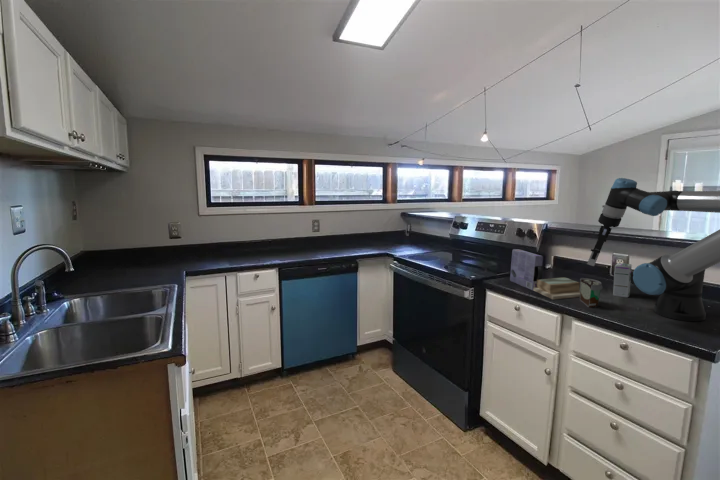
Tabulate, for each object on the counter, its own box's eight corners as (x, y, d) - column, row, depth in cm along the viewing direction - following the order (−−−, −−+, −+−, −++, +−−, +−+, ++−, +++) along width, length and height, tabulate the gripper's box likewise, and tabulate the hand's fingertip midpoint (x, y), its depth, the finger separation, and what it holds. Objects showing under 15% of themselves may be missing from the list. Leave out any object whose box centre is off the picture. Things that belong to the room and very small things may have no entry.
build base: (588, 296, 163) (589, 284, 162) (552, 299, 160) (553, 287, 159) (561, 285, 180) (561, 274, 180) (528, 288, 178) (529, 277, 177)
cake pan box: (542, 290, 174) (544, 255, 171) (534, 291, 173) (535, 256, 170) (517, 280, 193) (518, 248, 190) (509, 281, 192) (510, 249, 189)
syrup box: (628, 297, 159) (631, 266, 157) (612, 295, 163) (614, 264, 161) (629, 294, 163) (632, 264, 161) (614, 292, 167) (616, 262, 165)
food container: (606, 309, 147) (608, 285, 145) (590, 308, 148) (591, 285, 146) (593, 299, 159) (595, 277, 157) (578, 299, 160) (580, 277, 158)
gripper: (604, 205, 158) (587, 246, 168) (597, 221, 140) (578, 266, 150) (624, 210, 154) (606, 252, 164) (619, 226, 136) (598, 273, 146)
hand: (592, 259), depth 157 cm, fingers open, 13 cm apart
